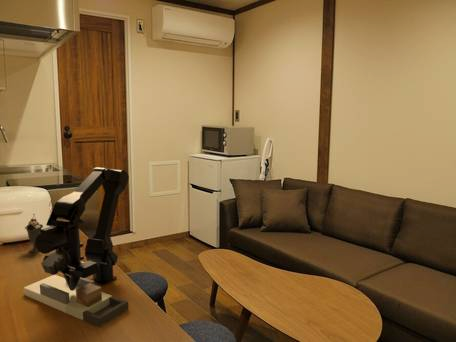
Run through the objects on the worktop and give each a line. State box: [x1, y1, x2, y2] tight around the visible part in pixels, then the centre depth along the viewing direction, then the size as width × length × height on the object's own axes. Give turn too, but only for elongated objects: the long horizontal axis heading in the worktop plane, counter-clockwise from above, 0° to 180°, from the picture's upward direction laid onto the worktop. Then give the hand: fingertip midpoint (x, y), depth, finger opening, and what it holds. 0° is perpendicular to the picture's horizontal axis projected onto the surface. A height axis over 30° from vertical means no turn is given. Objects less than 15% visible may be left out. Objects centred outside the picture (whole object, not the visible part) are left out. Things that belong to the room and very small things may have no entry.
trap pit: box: [82, 295, 129, 328], centre depth 112 cm, size 6×11×2 cm, turn 150°
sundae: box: [24, 213, 44, 253], centre depth 158 cm, size 7×7×15 cm
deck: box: [23, 274, 112, 321], centre depth 120 cm, size 28×11×2 cm, turn 60°
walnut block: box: [76, 283, 102, 307], centre depth 114 cm, size 5×5×4 cm
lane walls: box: [40, 277, 95, 304], centre depth 120 cm, size 12×10×3 cm
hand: (72, 290), depth 119 cm, fingers closed
